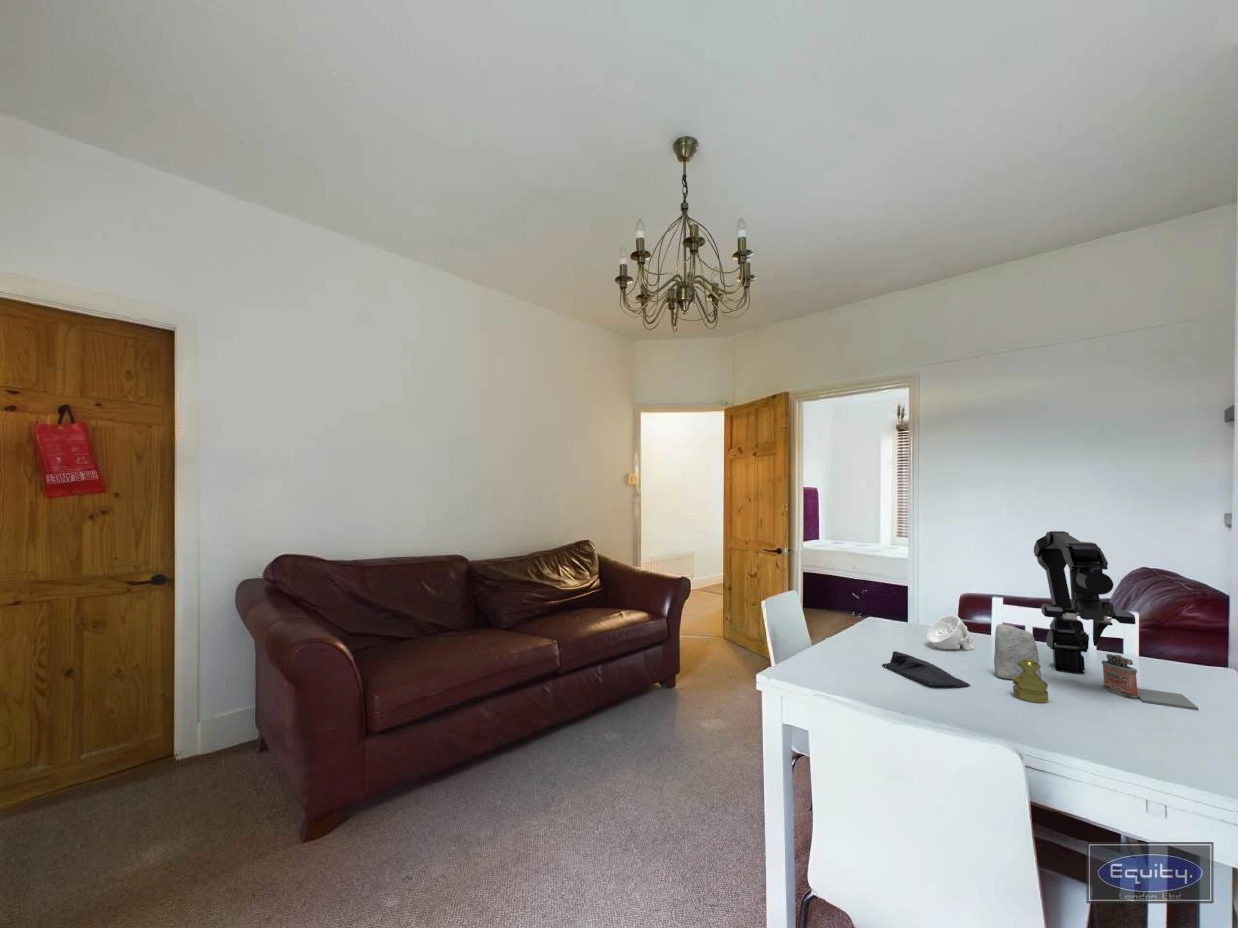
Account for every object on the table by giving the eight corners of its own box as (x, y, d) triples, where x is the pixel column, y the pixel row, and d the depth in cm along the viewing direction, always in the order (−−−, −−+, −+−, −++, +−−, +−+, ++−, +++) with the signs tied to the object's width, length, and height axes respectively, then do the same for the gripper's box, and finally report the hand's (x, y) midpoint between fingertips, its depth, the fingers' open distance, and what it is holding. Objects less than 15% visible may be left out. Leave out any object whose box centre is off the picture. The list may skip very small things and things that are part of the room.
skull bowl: (989, 647, 176) (969, 617, 176) (956, 670, 174) (936, 640, 175) (966, 638, 186) (947, 610, 186) (936, 660, 185) (917, 632, 185)
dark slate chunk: (924, 692, 143) (924, 674, 143) (878, 665, 164) (877, 650, 165) (976, 689, 144) (975, 672, 144) (923, 663, 166) (922, 648, 166)
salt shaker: (1040, 705, 131) (1037, 665, 132) (1007, 695, 138) (1005, 657, 138) (1054, 699, 135) (1052, 661, 135) (1021, 690, 141) (1019, 653, 142)
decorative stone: (1037, 677, 151) (1034, 625, 152) (1044, 684, 145) (1040, 630, 146) (992, 672, 155) (989, 622, 156) (997, 679, 150) (994, 627, 151)
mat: (1142, 702, 132) (1142, 699, 132) (1129, 689, 141) (1129, 687, 141) (1198, 710, 127) (1198, 707, 127) (1181, 696, 136) (1181, 693, 136)
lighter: (1099, 688, 142) (1097, 651, 143) (1110, 687, 142) (1108, 650, 143) (1131, 699, 134) (1128, 660, 135) (1142, 699, 134) (1140, 660, 135)
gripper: (1046, 589, 141) (1050, 647, 140) (1140, 596, 131) (1145, 658, 130) (1039, 583, 150) (1042, 637, 149) (1126, 588, 141) (1130, 646, 140)
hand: (1088, 644), depth 142 cm, fingers open, 3 cm apart
